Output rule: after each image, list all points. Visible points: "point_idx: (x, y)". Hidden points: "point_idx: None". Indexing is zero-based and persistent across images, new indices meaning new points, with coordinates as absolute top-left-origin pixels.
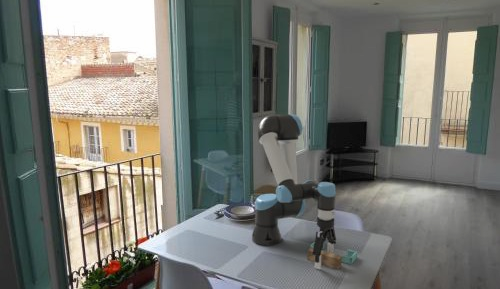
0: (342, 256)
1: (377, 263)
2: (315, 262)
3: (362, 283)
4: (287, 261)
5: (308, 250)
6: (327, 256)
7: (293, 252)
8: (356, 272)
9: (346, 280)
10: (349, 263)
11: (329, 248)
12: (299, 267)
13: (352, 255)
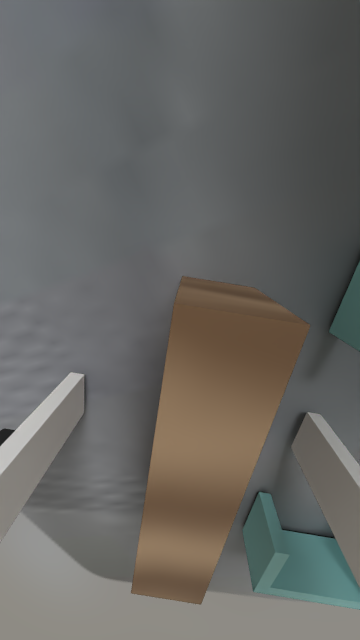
0: (270, 546)
1: (307, 601)
2: (38, 413)
3: (88, 565)
4: (36, 63)
5: (173, 316)
6: (142, 521)
7: (309, 23)
8: None
9: (68, 521)
10: (245, 529)
11: (352, 513)
12: (15, 254)
13: (301, 595)
